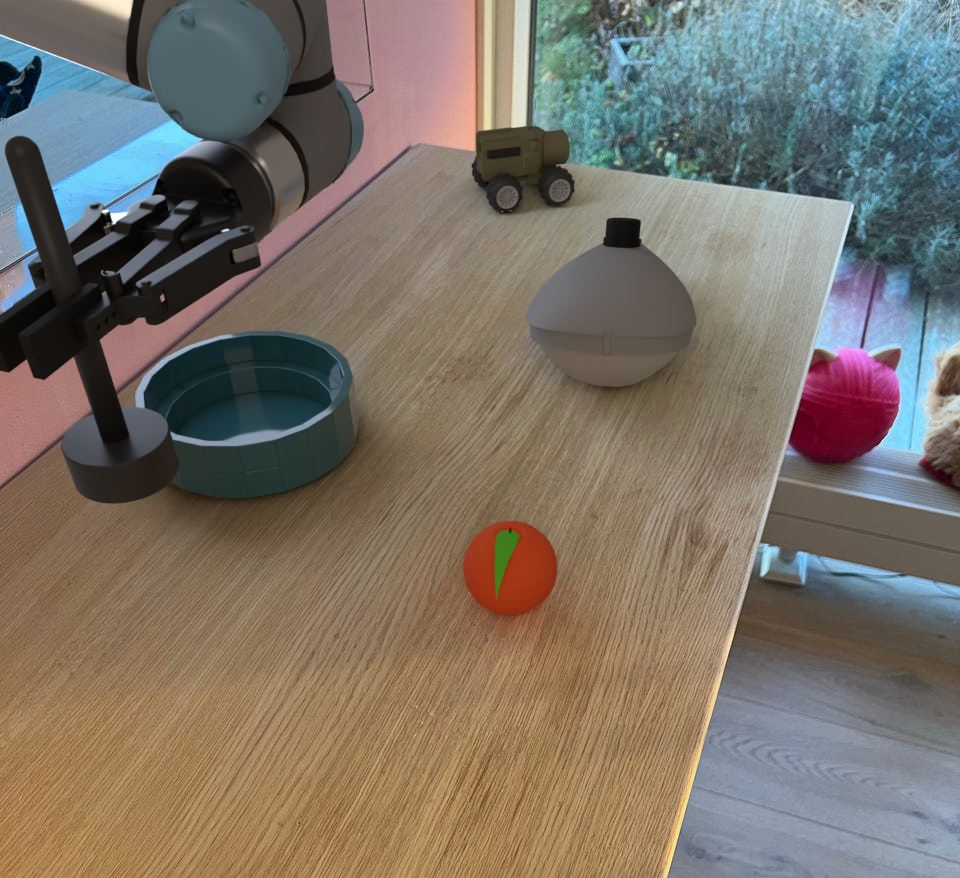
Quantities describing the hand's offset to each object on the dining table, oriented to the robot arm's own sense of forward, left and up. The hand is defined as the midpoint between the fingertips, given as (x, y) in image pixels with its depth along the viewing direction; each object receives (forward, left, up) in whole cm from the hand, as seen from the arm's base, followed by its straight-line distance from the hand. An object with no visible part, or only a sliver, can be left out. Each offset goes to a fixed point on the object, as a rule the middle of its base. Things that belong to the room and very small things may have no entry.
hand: (13, 353), depth 59 cm
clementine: (+25, +13, -24) cm, 37 cm away
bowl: (-4, +26, -24) cm, 36 cm away
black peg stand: (0, +6, -12) cm, 13 cm away
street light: (+22, +53, -24) cm, 62 cm away
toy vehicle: (+1, +85, -24) cm, 89 cm away
